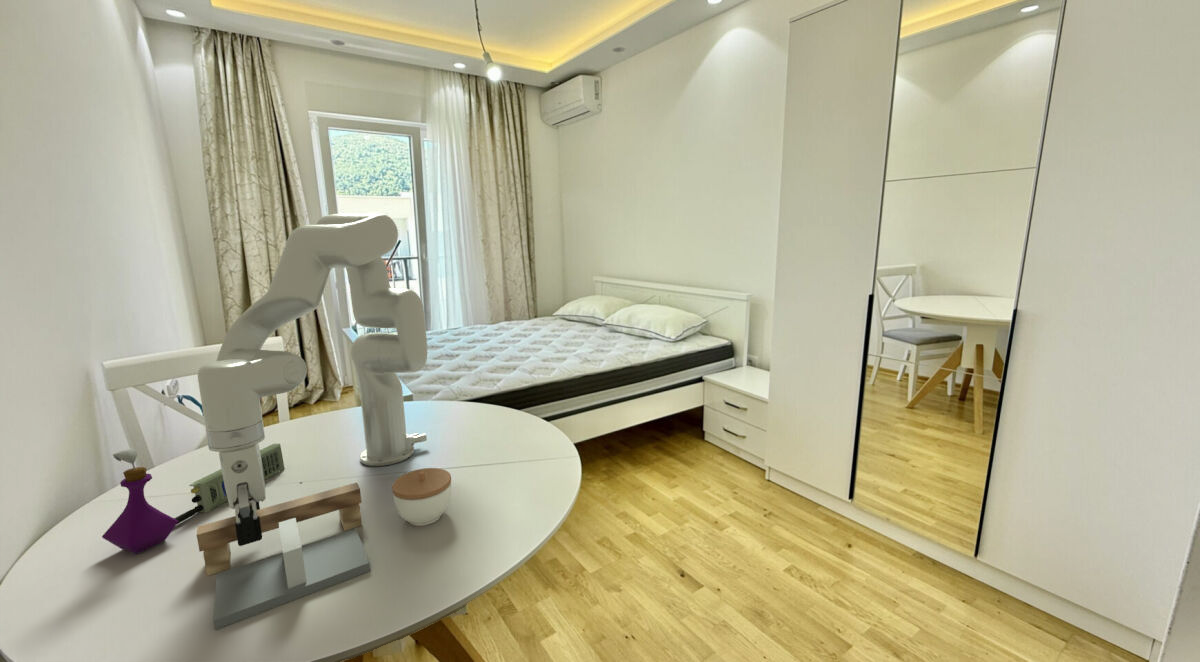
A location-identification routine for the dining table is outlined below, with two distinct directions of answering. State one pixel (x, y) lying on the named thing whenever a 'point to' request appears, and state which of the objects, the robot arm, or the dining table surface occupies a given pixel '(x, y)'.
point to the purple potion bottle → (138, 513)
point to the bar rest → (221, 555)
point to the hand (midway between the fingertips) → (250, 528)
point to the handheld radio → (213, 488)
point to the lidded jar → (422, 495)
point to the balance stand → (287, 574)
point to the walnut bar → (281, 514)
